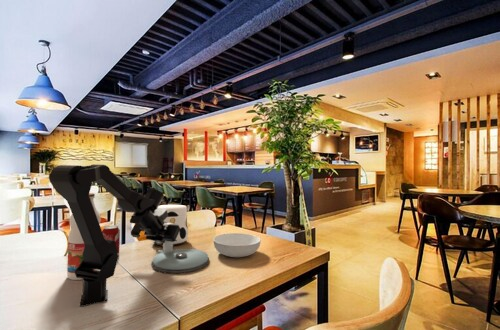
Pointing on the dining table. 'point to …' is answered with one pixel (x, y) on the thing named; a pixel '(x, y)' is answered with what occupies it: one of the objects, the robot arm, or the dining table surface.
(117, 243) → the soda can
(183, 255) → the pivot base
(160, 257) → the grey round stand
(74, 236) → the fruit juice
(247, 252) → the serving bowl
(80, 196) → the robot arm
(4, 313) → the dining table surface
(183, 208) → the milk container
